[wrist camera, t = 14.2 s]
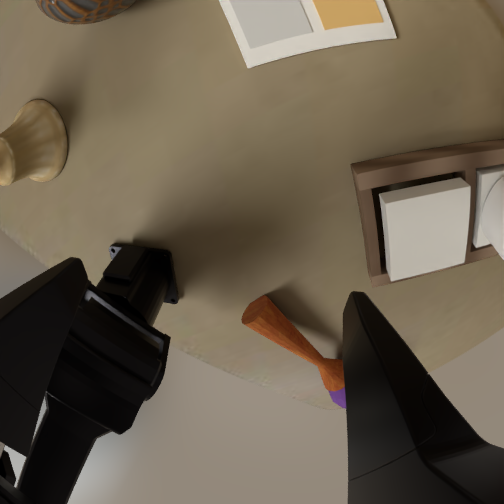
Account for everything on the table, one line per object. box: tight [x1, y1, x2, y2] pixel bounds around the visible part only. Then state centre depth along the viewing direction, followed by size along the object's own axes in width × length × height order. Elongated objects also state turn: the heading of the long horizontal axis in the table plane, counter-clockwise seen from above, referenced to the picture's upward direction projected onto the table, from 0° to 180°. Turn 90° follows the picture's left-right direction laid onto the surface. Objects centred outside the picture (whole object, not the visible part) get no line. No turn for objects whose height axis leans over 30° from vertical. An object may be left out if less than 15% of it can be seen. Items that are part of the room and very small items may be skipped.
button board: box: [351, 139, 504, 287], centre depth 18 cm, size 18×10×2 cm, turn 110°
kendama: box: [242, 295, 346, 408], centre depth 29 cm, size 6×6×20 cm
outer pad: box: [472, 164, 504, 248], centre depth 16 cm, size 7×7×2 cm
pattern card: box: [219, 0, 397, 68], centre depth 12 cm, size 10×6×1 cm, turn 110°
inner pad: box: [379, 178, 471, 281], centre depth 17 cm, size 7×7×2 cm
